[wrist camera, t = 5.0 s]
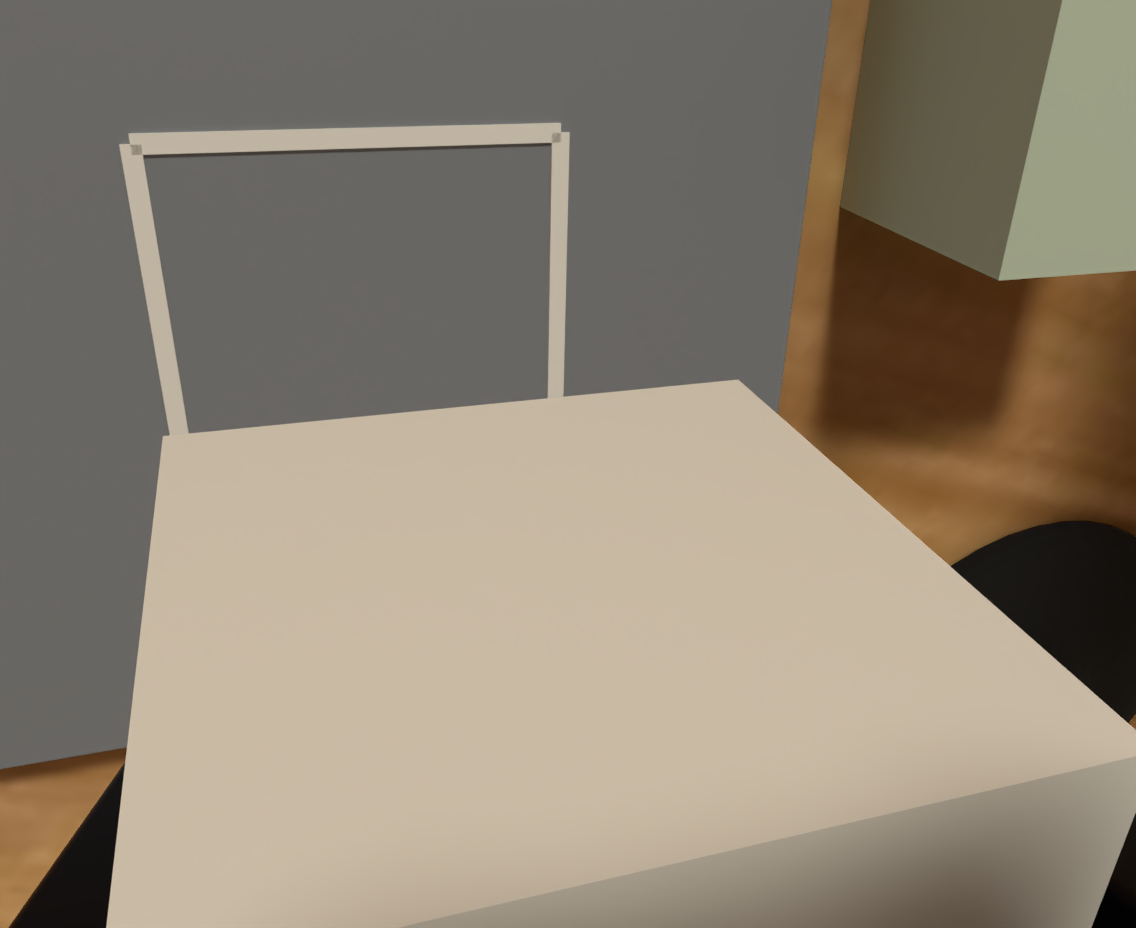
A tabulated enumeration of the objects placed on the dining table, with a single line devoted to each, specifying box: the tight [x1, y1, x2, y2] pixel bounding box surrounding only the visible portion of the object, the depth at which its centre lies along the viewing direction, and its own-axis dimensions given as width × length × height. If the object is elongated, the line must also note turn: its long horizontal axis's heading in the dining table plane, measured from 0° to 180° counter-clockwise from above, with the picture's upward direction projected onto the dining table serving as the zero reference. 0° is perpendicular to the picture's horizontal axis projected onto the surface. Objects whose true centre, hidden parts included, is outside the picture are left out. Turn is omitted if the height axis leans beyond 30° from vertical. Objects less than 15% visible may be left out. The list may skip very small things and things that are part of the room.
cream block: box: [106, 380, 1136, 928], centre depth 8 cm, size 5×5×5 cm
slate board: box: [0, 0, 832, 769], centre depth 18 cm, size 16×16×1 cm
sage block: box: [840, 0, 1136, 281], centre depth 18 cm, size 5×5×5 cm
